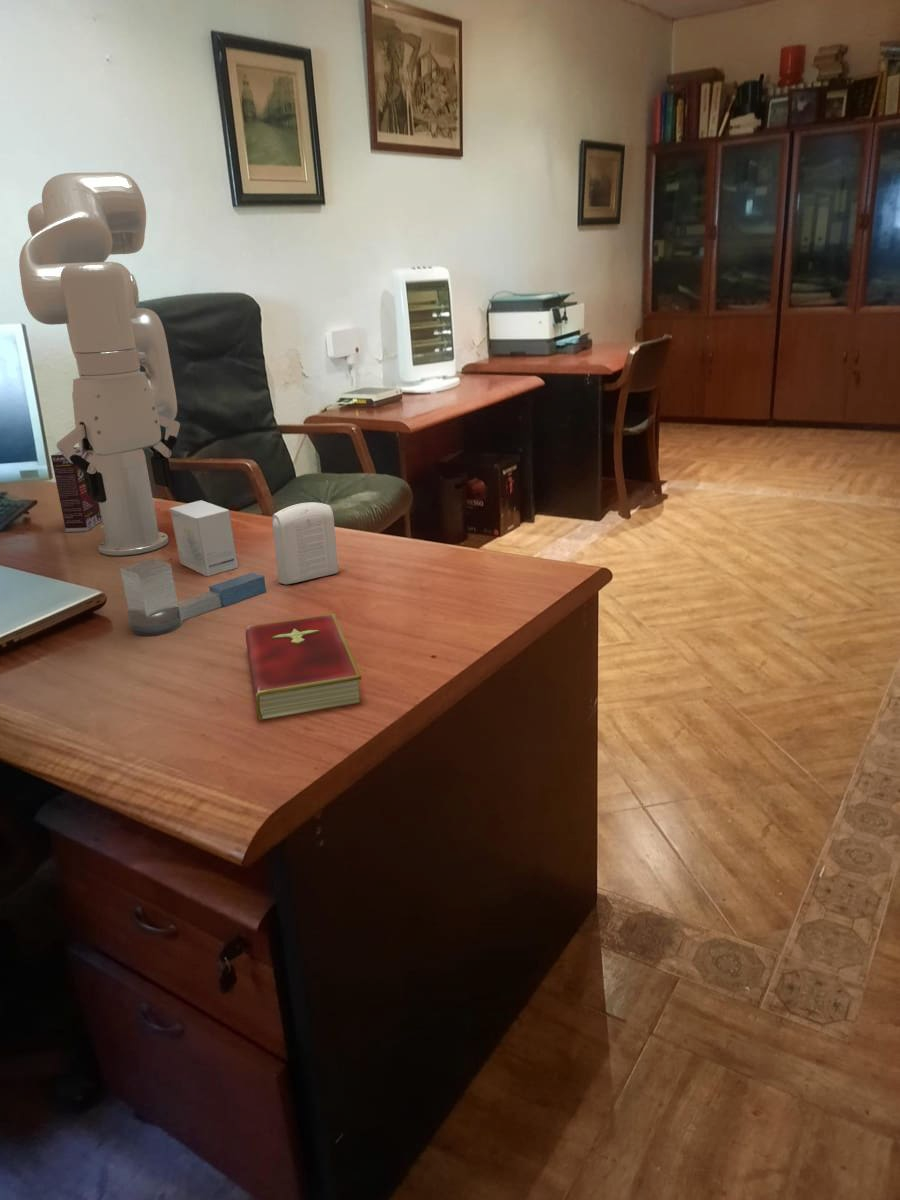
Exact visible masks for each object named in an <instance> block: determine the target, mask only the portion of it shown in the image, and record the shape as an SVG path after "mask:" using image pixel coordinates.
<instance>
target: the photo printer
mask: <svg viewBox="0 0 900 1200" xmlns="http://www.w3.org/2000/svg"><path fill="white" fill-rule="evenodd" d="M271 523H272V532H273V535H272V536H273V543H274V549H275V550H274V552H275V559H276V567H277V577H278V581H279V583H280V584H282V585H290V584H296V583H300V582H305V581H309V580H313V579H317V578H321V577H322V578H323V577H326V576H331V575H334V574H337V573H338V572H339V564H338V562H339V561H338V551H337V540H336V530H335V518H334V513H333V509H332V508H331V505H329V504H327V503H322V502H315V501H314V502H301V503H296V504H293V505H290V506H287V507H285V508H283V509H280V510H279V511H277V512H275V513H273V514H272V519H271Z"/></svg>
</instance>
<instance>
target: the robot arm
mask: <svg viewBox="0 0 900 1200" xmlns="http://www.w3.org/2000/svg"><path fill="white" fill-rule="evenodd" d="M136 182H137V181H135V179H133V178H132V177H131V176H129V175H127V174H126V173H123V172H114V171H113V172H112V171H111V172H107V171H105V172H66V173H61V174H58V175H57V174H56V175H54V176H53V177H51V178H49V180H47V182H46V183H45V184H44V186H43V188H42V192H41V202H38V203H35V204H34V205H33V206H32V207H30V209H28V213H27V222H28V228H29V232H30V234H31V235H30V238H28V239H27V240H26V241H25V243H24V244H23V246H22V247H21V250H20V254H19V259H18V262H19V265H18V267H19V277H20V283H21V290H22V297H23V301H24V303H25V305H26V309H27V311H28V312H29V314H30V315H31V317H32V318H33V319H34V320H35V321H37V322H39V323H40V324H44V325H48V326H49V325H51V326H53V325H66V328H67V330H66V331H67V333H68V334H67V335H68V338H69V343H70V347H71V350H72V354H73V356H74V358H75V360H76V362H75V363H76V366H77V371H78V376H79V377H76V378H74V379H73V380H72V381H73V382H72V394H71V397H72V404H73V405H72V408H73V417H74V426H75V427H74V429H73V430H71V431H69V433H68V434H66V435H65V436H64V437H62V438H61V439H60V440H59V441H58V442H57V443H56V448H57V449H58V452H61V453H62V454H63V456H64V457H65V458H66V459H67V461H68V462H69V463H70V464H72V465H73V466H75V467H76V468H78V470H79V471H81V472H83V476H84V480H85V485H86V490H87V494H88V496H89V497H90V498H91V500H93V501H96V502H98V503H99V508H100V513H101V518H102V522H101V525H100V529H101V530H102V531H104V532H103V533H104V537H105V539H103V540H101V541H100V542H99V544H98V547H97V548H98V551H99V553H101V554H102V555H106V556H117V557H118V556H133V555H138V554H144V553H149V552H152V551H155V550H158V549H160V548H162V547H164V546H166V545H167V544H168V542H169V536H168V534H167V533H165V532H163V531H162V532H161V531H159V529H158V522H157V517H156V510H155V505H154V499H153V493H152V487H151V481H150V477H149V470H148V464H147V461H146V460H147V459H146V455H145V452H144V450H145V449H148V450H149V451H150V452H151V453H152V454H153V456H151V458H150V464H151V468H152V469H151V470H152V474H153V481H154V485H157V486H161V487H165V488H168V487H171V486H172V482H171V478H172V471H171V467H170V462H169V458H170V457H171V456H172V451H173V449H174V447H175V446H176V444H177V441H178V440H177V439H178V438H177V437H178V435H179V431H180V427H181V423H180V422H179V421H177V420H175V419H176V418H177V417H176V416H177V413H178V400H177V395H176V394H177V393H176V388H175V383H174V377H173V372H172V370H173V369H172V364H171V359H170V354H169V347H168V342H167V337H166V332H165V328H164V326H163V323H162V321H161V318H160V317H159V315H158V314H157V313H156V312H155V311H154V310H152V309H149V308H144V307H142V308H141V307H138V306H139V302H140V297H139V287H138V283H137V280H136V278H135V275H134V274H132V273H131V271H130V270H129V269H128V268H127V267H126V266H125V265H124V264H122V263H119V262H114V261H107V259H108V258H109V256H112V255H129V254H135V253H138V252H140V250H141V249H142V248H143V246H144V244H145V237H146V236H145V235H146V225H147V209H146V203H145V199H144V195H143V193H142V191H141V189H140V187H139V186H138V184H137V183H136ZM141 366H142V367H143V368H144V369H145V371H141ZM161 427H164V428H165V435H163V437H162V431H161ZM77 444H78V447H79V448H80V450H81V451H82V452H85V453H84V455H83V457H80V456H79V455H77V453H76V451H75V450H74V447H75V446H76V445H77Z"/></svg>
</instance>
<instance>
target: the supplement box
mask: <svg viewBox="0 0 900 1200" xmlns="http://www.w3.org/2000/svg"><path fill="white" fill-rule="evenodd" d="M74 450H75V451H76V453H77V455H79V456H80V457H83V455H84V453H85V452H82V451H81V450H80V448H79V446H76V447H75V446H74ZM50 458H51V463H52V469H53V474H54V479H55V483H56V487H57V494H58V498H59V504H60V509H61V513H62V519H63V524H64V529H65V530H64V531H65V533H84V532H89V531H90V530H91V529H93V528H94V527H96V526H97V525H98V524H99V523H102V518H101V513H100V508H99V503H98V502H96V501H93V500H91V498H90V497H89V496H88V494H87V490H86V485H85V480H84V476H83V472H81V471H79V470H78V468H76V467H75V466H73V465H72V464H70V463H69V462H68V461H67V459H66V458H65V457H64V456H63V454H62V453H61V452H60V451H58V452H56V453H54V454H51V455H50Z"/></svg>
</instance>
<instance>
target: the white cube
mask: <svg viewBox="0 0 900 1200" xmlns="http://www.w3.org/2000/svg"><path fill="white" fill-rule="evenodd" d="M172 568H173V567H172V564H171V563H167V562H165V561H160V560H158V559H154V558H149V559H145V560H142V561H138V562H136V563H133V564H129V565H125V566H122V567H120V568H119V569H120V573H121V579H122V584H123V589H124V595H125V600H126V605H127V611H128V610H129V611H132V612H134V613H137V614H139V615H142V616H145V617H150V616H153V615H156V614H158V613H161V612H164V611H167V610H170V609H173V608H176V607H178V598H177V593H176V592H177V591H176V586H175V581H174V574H173V570H172Z"/></svg>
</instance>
